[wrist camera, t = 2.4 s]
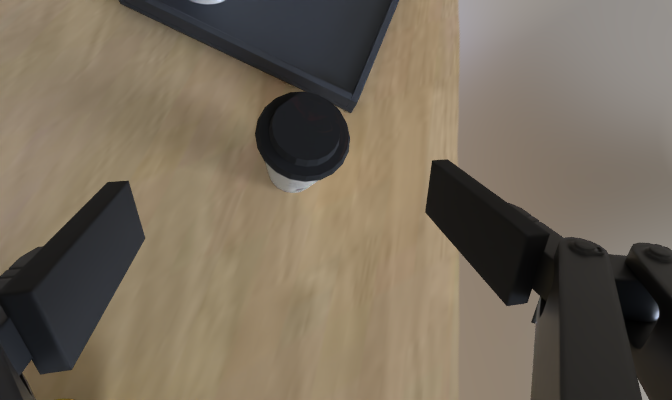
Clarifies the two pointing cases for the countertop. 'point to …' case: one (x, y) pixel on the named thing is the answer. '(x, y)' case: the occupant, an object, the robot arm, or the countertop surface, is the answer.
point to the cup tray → (288, 37)
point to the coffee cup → (301, 140)
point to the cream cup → (207, 1)
